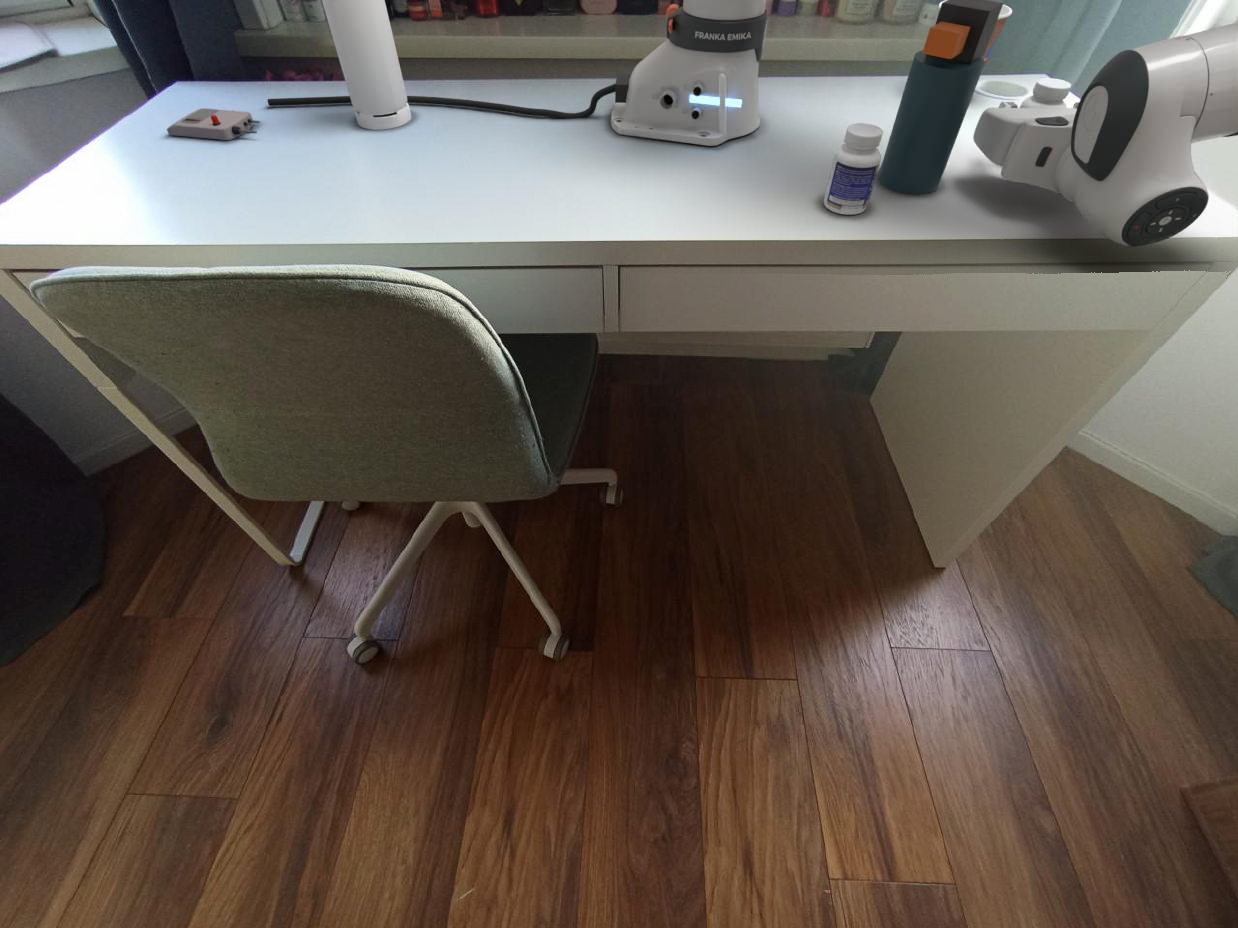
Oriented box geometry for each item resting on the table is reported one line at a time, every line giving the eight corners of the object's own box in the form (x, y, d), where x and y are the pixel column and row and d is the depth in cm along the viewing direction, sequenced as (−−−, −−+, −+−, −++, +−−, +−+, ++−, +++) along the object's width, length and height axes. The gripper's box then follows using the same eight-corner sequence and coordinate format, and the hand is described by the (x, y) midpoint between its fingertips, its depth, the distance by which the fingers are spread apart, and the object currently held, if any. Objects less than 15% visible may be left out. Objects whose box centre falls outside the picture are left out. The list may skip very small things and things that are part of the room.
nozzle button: (950, 59, 68) (959, 33, 66) (921, 53, 70) (929, 28, 68) (961, 52, 70) (970, 26, 68) (933, 46, 71) (941, 21, 69)
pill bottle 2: (1044, 171, 85) (1083, 91, 77) (1002, 168, 85) (1037, 88, 78) (1035, 154, 88) (1071, 77, 81) (994, 151, 89) (1027, 74, 82)
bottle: (346, 125, 96) (269, -127, 75) (378, 106, 101) (315, -135, 80) (390, 133, 94) (324, -124, 73) (421, 113, 99) (368, -132, 78)
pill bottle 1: (872, 215, 77) (896, 138, 70) (830, 217, 76) (850, 140, 70) (858, 195, 80) (879, 120, 74) (817, 196, 80) (835, 121, 73)
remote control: (187, 118, 98) (177, 96, 96) (279, 125, 96) (271, 104, 93) (158, 135, 93) (147, 113, 91) (253, 143, 91) (244, 121, 89)
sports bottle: (924, 200, 79) (990, 20, 65) (867, 182, 83) (919, 7, 68) (947, 179, 83) (1014, 5, 69) (892, 163, 86) (946, -7, 72)
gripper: (1200, 125, 70) (1136, 82, 80) (1015, 123, 71) (972, 81, 80) (1164, 181, 75) (1107, 134, 84) (990, 180, 76) (952, 133, 85)
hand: (1040, 108), depth 82 cm, fingers open, 8 cm apart
